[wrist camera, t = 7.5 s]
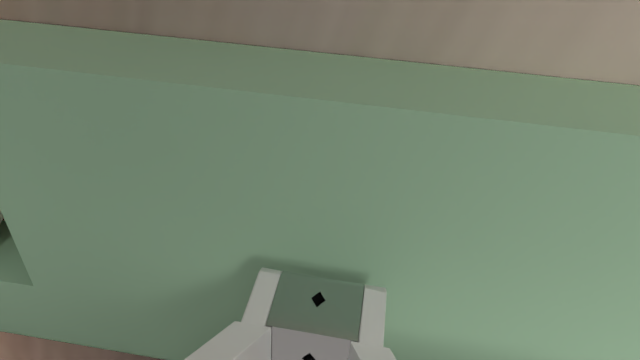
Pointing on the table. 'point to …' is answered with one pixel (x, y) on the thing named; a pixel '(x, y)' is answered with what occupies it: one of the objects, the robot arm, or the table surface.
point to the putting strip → (312, 195)
